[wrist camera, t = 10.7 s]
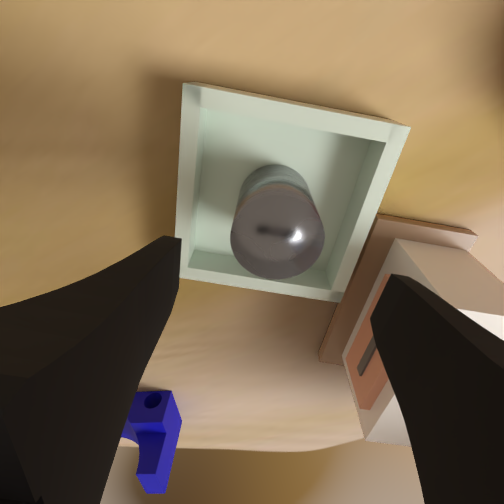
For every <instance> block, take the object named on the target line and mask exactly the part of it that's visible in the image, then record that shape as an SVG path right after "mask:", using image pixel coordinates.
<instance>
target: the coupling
mask: <svg viewBox="0 0 504 504" xmlns="http://www.w3.org/2000/svg"><path fill="white" fill-rule="evenodd" d="M324 240H325V232H324V227H323V224H322V221H321V219H320V216H319V213H318V211H317V208H316V206H315V203H314V201H313V198H312V196H311V193H310V190H309V188H308V185H307V183H306V181H305V180H304V178H303V177H302V176H301V175H300V174H299V173H298V172H297V171H295V170H294V169H292V168H290V167H288V166H284V165H278V164H272V165H266V166H262V167H260V168H258V169H256V170H255V171H253V172H252V173H251V174H249V176H248V177H247V178H246V179H245V180H244V182H243V184H242V186H241V189H240V192H239V197H238V201H237V206H236V210H235V215H234V219H233V223H232V228H231V232H230V244H231V249H232V251H233V254H234V256H235V258H236V259H237V261H238V262H239V263H240V264H241V265H242V267H244V268H245V269H246V270H247V271H249V272H250V273H252V274H254V275H256V276H259V277H262V278H266V279H273V280H280V279H287V278H291V277H294V276H297V275H299V274H301V273H303V272H304V271H306V270H307V269H309V268H310V267H311V266H312V265H313V264H314V263H315V262H316V260H317V259H318V258H319V256H320V254H321V252H322V249H323V246H324Z"/></svg>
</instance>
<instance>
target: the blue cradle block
mask: <svg viewBox="0 0 504 504" xmlns="http://www.w3.org/2000/svg"><path fill="white" fill-rule="evenodd" d="M181 424H182V420H181V417H180V414H179V411H178V408H177V405H176V402H175V400H174V397H173V394H172V391H147V392H136V394H135V397H134V400H133V402H132V405H131V408H130V411H129V414H128V417H127V420H126V423H125V426H124V429H123V432H122V435H121V437H124V438H128V439H130V440H132V441H134V442H136V443H137V444H138V445H139V452H140V454H139V464H138V468H137V472H136V475H137V477H138V479H139V480H140V482H141V484H142V486H143V488H144V490H145V491H146V493H165V492H166V488H167V483H168V479H169V475H170V471H171V466H172V462H173V458H174V453H175V449H176V445H177V441H178V437H179V432H180V428H181Z"/></svg>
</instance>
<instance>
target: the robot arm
mask: <svg viewBox="0 0 504 504" xmlns="http://www.w3.org/2000/svg"><path fill="white" fill-rule="evenodd" d="M181 245H182V238H176V237H170V236H162V237H160V238H158V239H157V240H155V241H153V242H152V243H150V244H148V245H147V246H145V247H143V248H142V249H140V250H138V251H137V252H135V253H133V254H132V255H130V256H128V257H126V258H125V259H123V260H121V261H119V262H117V263H115V264H113V265H111V266H109V267H107V268H106V269H104V270H102V271H100V272H98V273H96V274H94V275H91V276H89V277H87V278H85V279H82V280H80V281H77V282H75V283H73V284H70V285H68V286H65V287H62V288H60V289H57V290H54V291H51V292H48V293H45V294H42V295H39V296H36V297H33V298H30V299H27V300H24V301H21V302H17V303H14V304H10V305H7V306H3V307H0V504H100V501H101V498H102V495H103V491H104V488H105V485H106V482H107V479H108V476H109V472H110V469H111V466H112V463H113V460H114V457H115V453H116V450H117V447H118V444H119V441H120V438H121V435H122V432H123V429H124V426H125V423H126V420H127V417H128V414H129V411H130V408H131V405H132V402H133V400H134V397H135V394H136V391H137V388H138V385H139V382H140V380H141V377H142V375H143V373H144V370H145V368H146V366H147V364H148V361H149V359H150V357H151V355H152V353H153V351H154V349H155V346H156V344H157V342H158V340H159V338H160V336H161V334H162V331H163V329H164V327H165V325H166V323H167V320H168V318H169V316H170V314H171V311H172V308H173V305H174V302H175V298H176V295H177V292H178V289H179V276H180V260H181ZM370 322H371V327H372V332H373V336H374V340H375V344H376V347H377V350H378V352H379V355H380V358H381V360H382V363H383V366H384V368H385V371H386V373H387V376H388V378H389V381H390V383H391V386H392V389H393V391H394V394H395V396H396V399H397V401H398V404H399V407H400V410H401V412H402V415H403V418H404V421H405V425H406V429H407V432H408V436H409V440H410V443H411V447H412V451H413V455H414V459H415V463H416V467H417V471H418V475H419V479H420V483H421V487H422V493H423V498H424V502H425V504H504V341H503V340H502V339H500V338H499V337H497V336H496V335H494V334H493V333H491V332H490V331H488V330H487V329H485V328H484V327H482V326H481V325H479V324H478V323H476V322H475V321H473V320H472V319H470V318H469V317H468V316H466V315H465V314H463V313H462V312H460V311H459V310H458V309H456V308H455V307H453V306H452V305H451V304H449V303H448V302H446V301H445V300H444V299H442V298H441V297H439V296H438V295H437V294H435V293H434V292H432V291H431V290H430V289H428V288H427V287H425V286H424V285H422V284H421V283H419V282H417V281H416V280H414V279H412V278H411V277H409V276H404V275H398V274H392V273H391V275H390V277H389V279H388V281H387V283H386V285H385V287H384V289H383V292H382V294H381V296H380V298H379V300H378V302H377V304H376V306H375V308H374V310H373V312H372V315H371V317H370Z"/></svg>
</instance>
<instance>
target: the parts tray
mask: <svg viewBox="0 0 504 504" xmlns="http://www.w3.org/2000/svg"><path fill="white" fill-rule="evenodd" d="M410 129H411V127H409V126H407V125H404V124H401V123H399V122H396V121H393V120H390V119H385V118H380V117H375V116H370V115H365V114H360V113H354V112H349V111H344V110H339V109H334V108H329V107H323V106H318V105H313V104H308V103H303V102H298V101H293V100H287V99H282V98H277V97H272V96H267V95H262V94H256V93H251V92H246V91H241V90H236V89H231V88H226V87H220V86H215V85H210V84H205V83H200V82H195V81H194V82H187V83H183V90H182V109H181V128H180V147H179V167H178V186H177V205H176V224H175V237H176V238H182V245H181V260H180V276H179V278H184V279H191V280H197V281H203V282H210V283H216V284H222V285H229V286H235V287H241V288H248V289H254V290H260V291H267V292H273V293H279V294H286V295H292V296H298V297H305V298H311V299H317V300H324V301H330V302H336V303H340V302H341V300H342V298H343V295H344V293H345V290H346V288H347V285H348V283H349V280H350V278H351V275H352V273H353V270H354V268H355V265H356V263H357V260H358V258H359V255H360V253H361V250H362V248H363V245H364V243H365V240H366V238H367V235H368V233H369V230H370V228H371V226H372V223H373V221H374V218H375V216H376V213H377V211H378V208H379V206H380V203H381V201H382V198H383V196H384V193H385V191H386V188H387V186H388V183H389V181H390V178H391V176H392V173H393V171H394V168H395V166H396V163H397V161H398V158H399V156H400V153H401V151H402V149H403V146H404V144H405V141H406V139H407V136H408V134H409V131H410ZM272 164H278V165H284V166H288V167H290V168H292V169H294V170H295V171H297V172H298V173H299V174H300V175H301V176H302V177H303V178H304V180H305V181H306V183H307V185H308V188H309V190H310V193H311V196H312V198H313V201H314V203H315V206H316V208H317V211H318V213H319V216H320V219H321V221H322V224H323V227H324V232H325V240H324V246H323V249H322V252H321V254H320V256H319V258H318V259H317V260H316V262H315V263H314V264H313V265H312V266H311V267H310V268H309V269H307V270H306V271H304V272H303V273H301V274H299V275H297V276H294V277H291V278H287V279H280V280H273V279H266V278H262V277H259V276H256V275H254V274H252V273H250V272H249V271H247V270H246V269H245V268H244V267H242V265H241V264H240V263H239V262H238V261H237V259H236V258H235V256H234V254H233V251H232V249H231V244H230V232H231V228H232V223H233V219H234V215H235V210H236V206H237V201H238V197H239V192H240V189H241V186H242V184H243V182H244V180H245V179H246V178H247V177H248V176H249V174H251V173H252V172H253V171H255V170H256V169H258V168H260V167H262V166H266V165H272Z"/></svg>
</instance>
